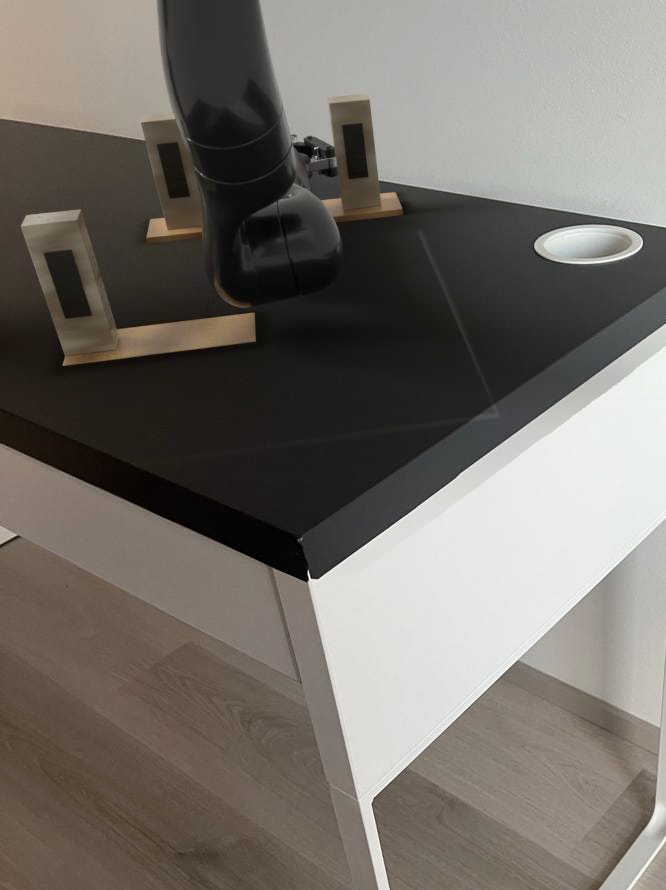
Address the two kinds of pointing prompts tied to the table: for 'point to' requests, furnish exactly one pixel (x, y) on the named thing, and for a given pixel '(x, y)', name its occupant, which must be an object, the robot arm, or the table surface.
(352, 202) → the twin post stand
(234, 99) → the robot arm
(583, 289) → the table surface
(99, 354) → the post on wooden plank
